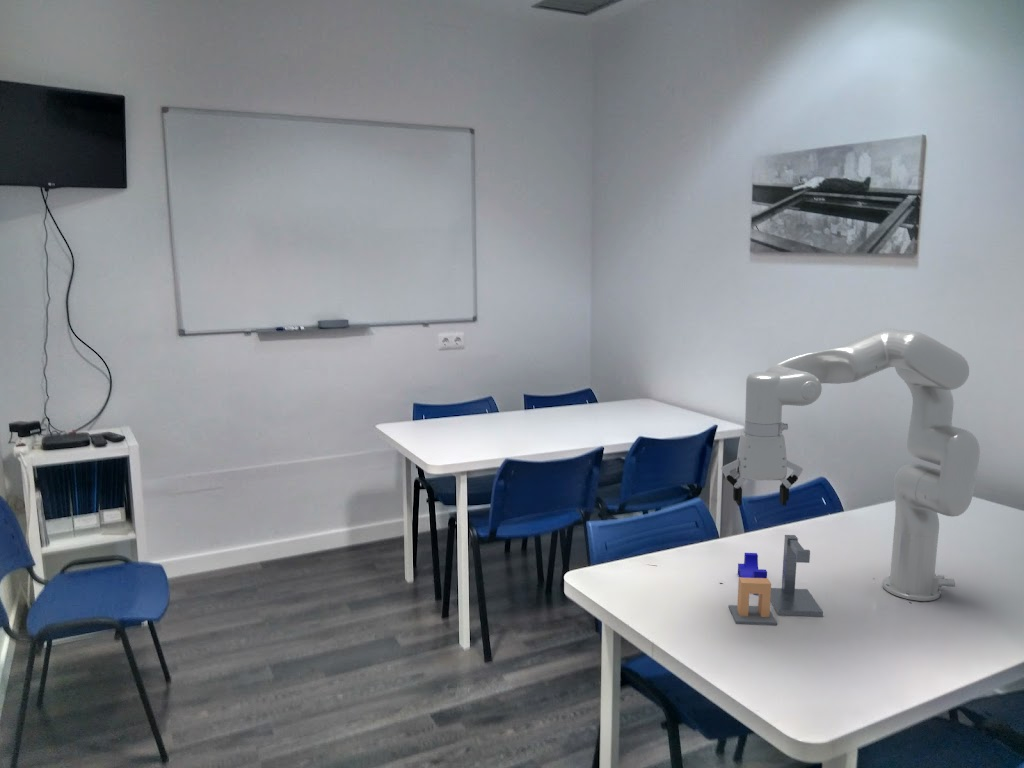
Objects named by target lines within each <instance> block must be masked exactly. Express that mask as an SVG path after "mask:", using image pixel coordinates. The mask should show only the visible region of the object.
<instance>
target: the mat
mask: <svg viewBox="0 0 1024 768" xmlns="http://www.w3.org/2000/svg"><path fill="white" fill-rule="evenodd" d="M728 608H729V609H728V610H729V611H730V614H731V616H732V618H733V621H734V623H735V624H737V625H758V626H759V625H762V626H765V625H766V626H777V625H778V622H777V619H776V618H775V617H774V615H773V612H772V611H771V610H770V614H769V617H761V616H760V614H759V612H758V605H749V609H748V617H747V616H740V615H739V613H738V611H737V604H728Z"/></svg>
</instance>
